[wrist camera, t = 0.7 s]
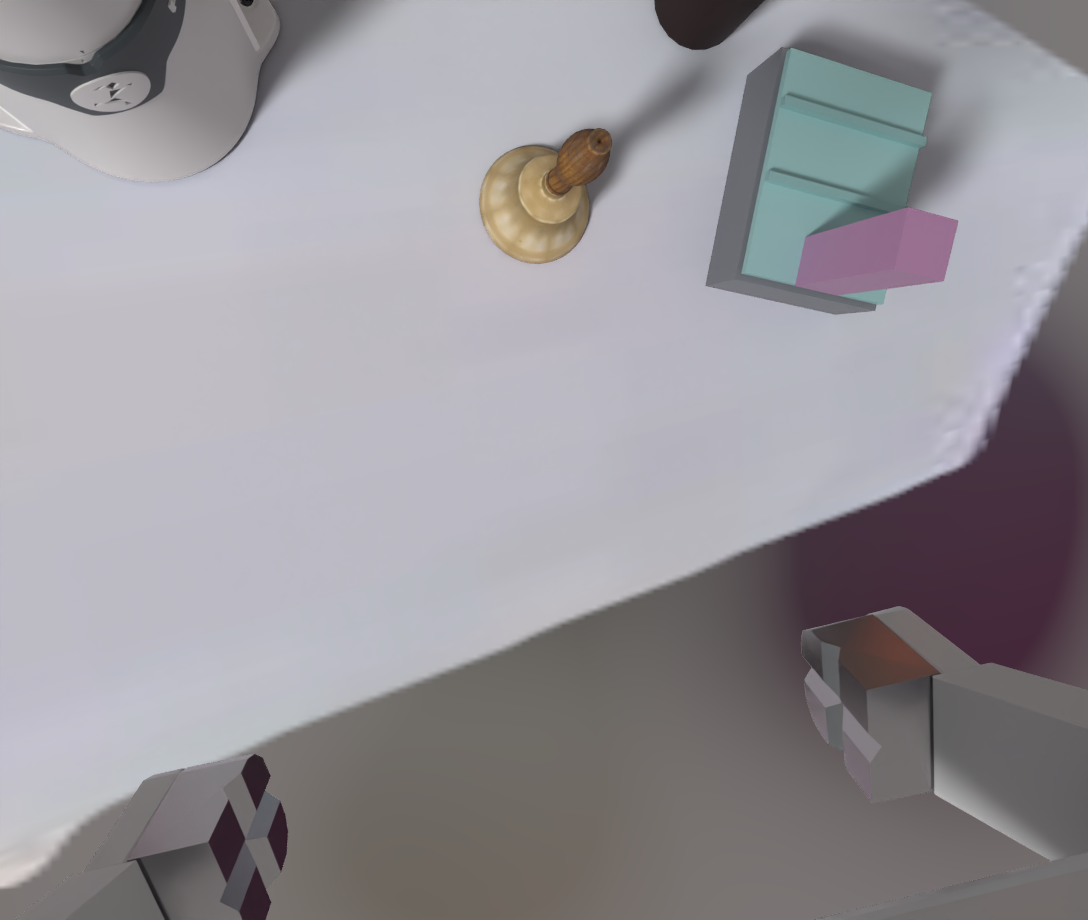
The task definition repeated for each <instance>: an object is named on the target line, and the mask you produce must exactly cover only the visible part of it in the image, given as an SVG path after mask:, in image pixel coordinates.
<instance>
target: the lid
mask: <svg viewBox="0 0 1088 920" xmlns="http://www.w3.org/2000/svg"><path fill="white" fill-rule="evenodd" d="M931 96H932V93H931V92H927V91H924V90H921V89H918V88H915V87H912V86H909V85H906V84H903V83H900V82H896V81H893V80H890V79H887V78H884V77H881V76H878V75H875V74H872V73H869V72H865V71H862V70H859V69H856V68H853V67H850V66H847V65H844V64H841V63H838V62H834V61H831V60H828V59H825V58H822V57H819V56H816V55H813V54H810V53H807V52H803V51H800V50H797V49H794V48H791V49H789V50H788V51H787V53H786V58H785V62H784V67H783V72H782V77H781V82H780V87H779V92H778V97H777V102H776V106H775V111H774V116H773V121H772V126H771V131H770V136H769V141H768V146H767V150H766V155H765V160H764V165H763V170H762V175H761V180H760V185H759V190H758V194H757V199H756V204H755V209H754V214H753V219H752V224H751V229H750V234H749V238H748V243H747V248H746V253H745V258H744V263H743V268H742V273H741V274H745V275H750V276H754V277H758V278H763V279H767V280H772V281H776V282H780V283H785V284H789V285H793V286H797V287H801V288H805V289H810V290H814V291H818V292H823V293H827V294H832V295H836V296H842V297H846V298H850V299H855V300H859V301H863V302H868V303H872V304H877V305H880V304H883V303H884V299H885V294H886V290H887V289H889V288H897V287H904V286H911V285H919V284H926V283H934V282H941V281H944V278H945V274H946V270H947V266H948V262H949V258H950V253H951V249H952V245H953V241H954V237H955V233H956V229H957V224H958V220H954V219H950V218H947V217H943V216H939V215H936V214H932V213H928V212H924V211H921V210H917V209H913V208H910V207H906V204H907V199H908V195H909V191H910V186H911V182H912V178H913V173H914V169H915V165H916V160H917V156H918V152H919V149H920V148H922V147H925V146H926V142H927V137H924V136H922V134H923V130H924V126H925V122H926V117H927V113H928V109H929V104H930V100H931Z"/></svg>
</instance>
